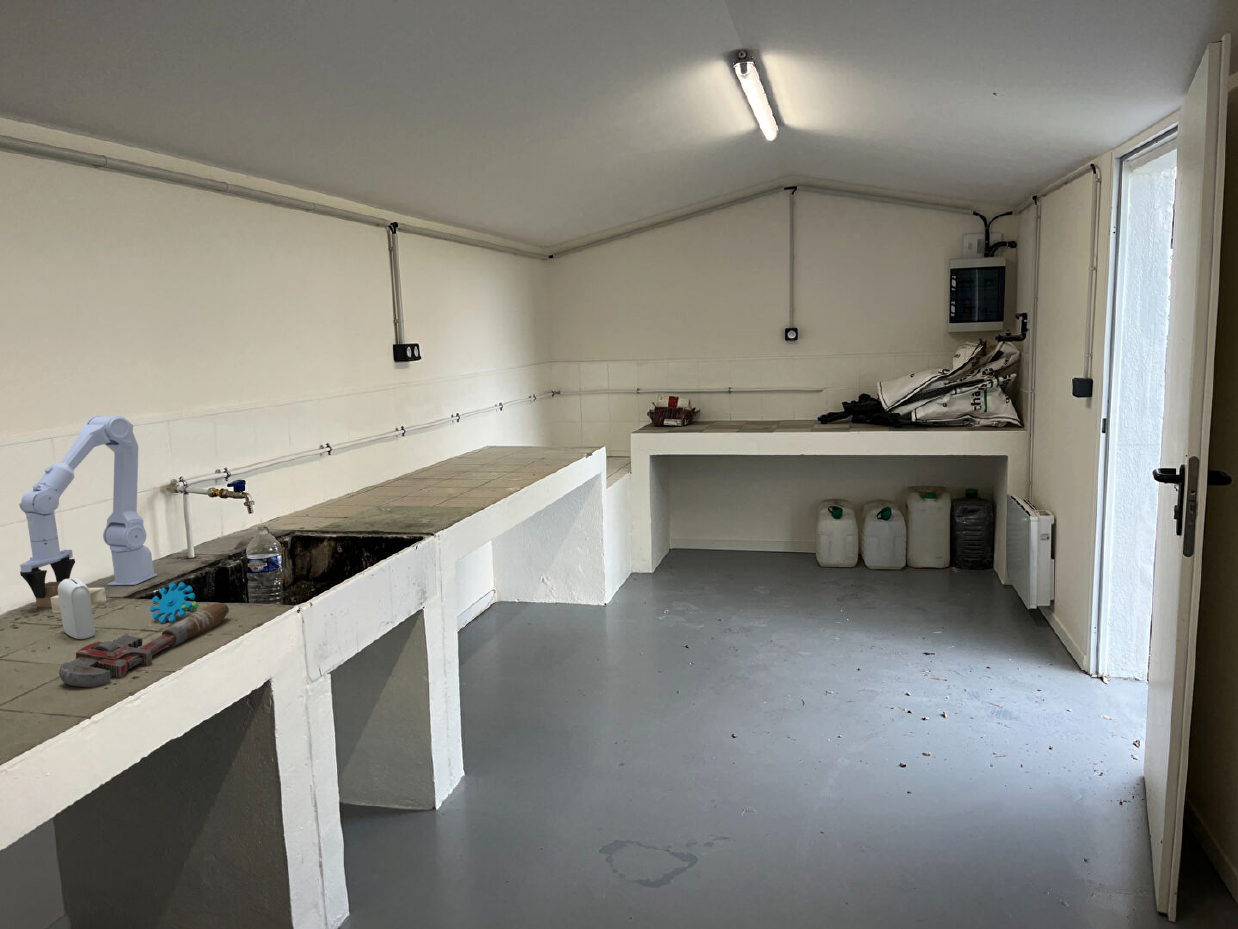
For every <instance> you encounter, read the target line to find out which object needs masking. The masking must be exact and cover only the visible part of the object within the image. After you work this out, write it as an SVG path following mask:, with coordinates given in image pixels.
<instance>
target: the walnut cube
mask: <svg viewBox="0 0 1238 929" xmlns="http://www.w3.org/2000/svg"><path fill="white" fill-rule="evenodd" d="M60 583H61V582H57V581H48V582H45V598H35V602H36V607H37V608H52V605H51V599H50V598H51V597H54V596H56V595H58V586H59V584H60Z"/></svg>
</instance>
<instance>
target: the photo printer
mask: <svg viewBox="0 0 1238 929" xmlns="http://www.w3.org/2000/svg"><path fill="white" fill-rule="evenodd" d="M88 588H89V587H88V586H87V585H86V584H85V583H84V582H83V581H82V580H80V579H79V578H77V577H70V578H69V579H65V580H63V581H62V582H61V583H60V584H59V586H58V597H59V603H60V610H61V613H60V615H61V616H60V617H61V622H62V628H63V632H64V633H65V634H66V635H68V636H70V637H72V638H74V639H76V640H78V639H79V640H84V639H89V638H91V637H94V635H96V627H95V621H94V614H93V609H92V606H91V600H90V593H89V589H88Z"/></svg>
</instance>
